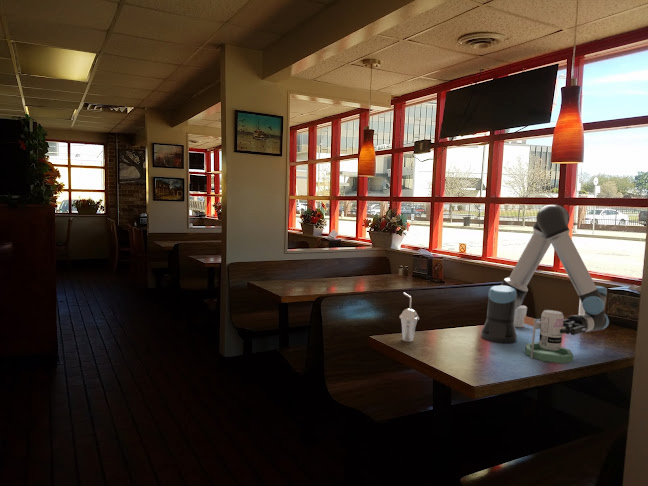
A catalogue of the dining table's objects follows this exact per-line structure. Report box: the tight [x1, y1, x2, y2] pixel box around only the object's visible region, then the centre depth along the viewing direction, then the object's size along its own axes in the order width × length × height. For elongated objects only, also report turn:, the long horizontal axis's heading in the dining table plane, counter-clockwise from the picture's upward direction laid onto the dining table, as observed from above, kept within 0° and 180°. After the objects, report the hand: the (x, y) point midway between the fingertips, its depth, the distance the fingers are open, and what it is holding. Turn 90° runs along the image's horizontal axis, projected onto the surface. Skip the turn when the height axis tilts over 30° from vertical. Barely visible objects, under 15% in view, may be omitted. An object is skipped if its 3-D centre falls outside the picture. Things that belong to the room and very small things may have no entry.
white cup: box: [514, 304, 528, 328], centre depth 237 cm, size 8×8×10 cm
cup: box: [524, 315, 574, 364], centre depth 191 cm, size 19×17×16 cm
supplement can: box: [538, 309, 565, 351], centre depth 191 cm, size 8×8×15 cm
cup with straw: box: [399, 292, 420, 342], centre depth 203 cm, size 8×9×20 cm
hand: (543, 328), depth 189 cm, fingers closed on supplement can, 8 cm apart
